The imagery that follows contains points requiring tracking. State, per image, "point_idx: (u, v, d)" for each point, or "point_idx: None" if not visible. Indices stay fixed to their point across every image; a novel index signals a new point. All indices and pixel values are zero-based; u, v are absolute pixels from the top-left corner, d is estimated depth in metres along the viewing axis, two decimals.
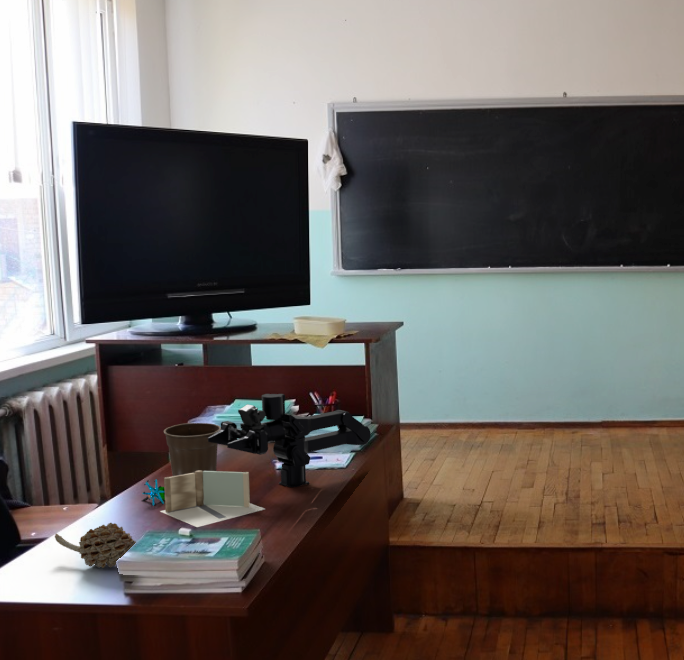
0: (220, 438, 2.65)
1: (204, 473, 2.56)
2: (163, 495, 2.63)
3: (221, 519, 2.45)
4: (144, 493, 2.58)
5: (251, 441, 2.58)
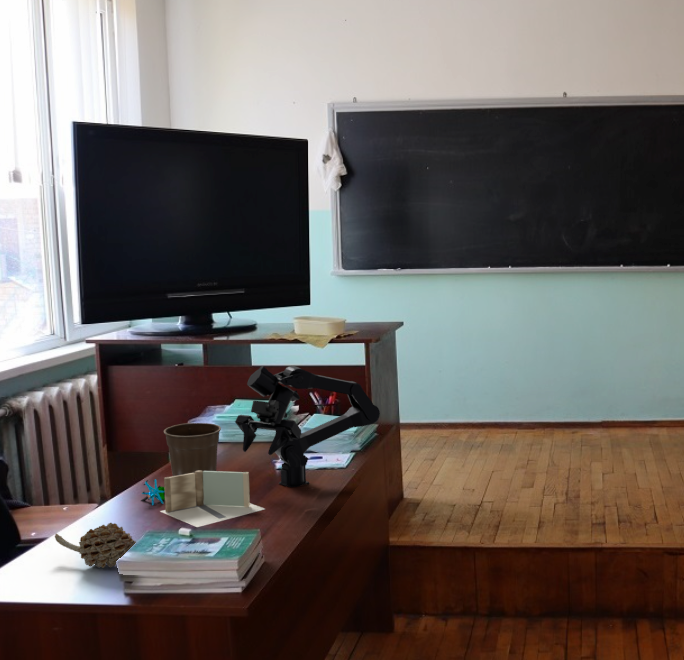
0: (249, 439, 2.67)
1: (204, 473, 2.56)
2: (162, 495, 2.63)
3: (221, 519, 2.45)
4: (143, 493, 2.58)
5: (283, 434, 2.63)
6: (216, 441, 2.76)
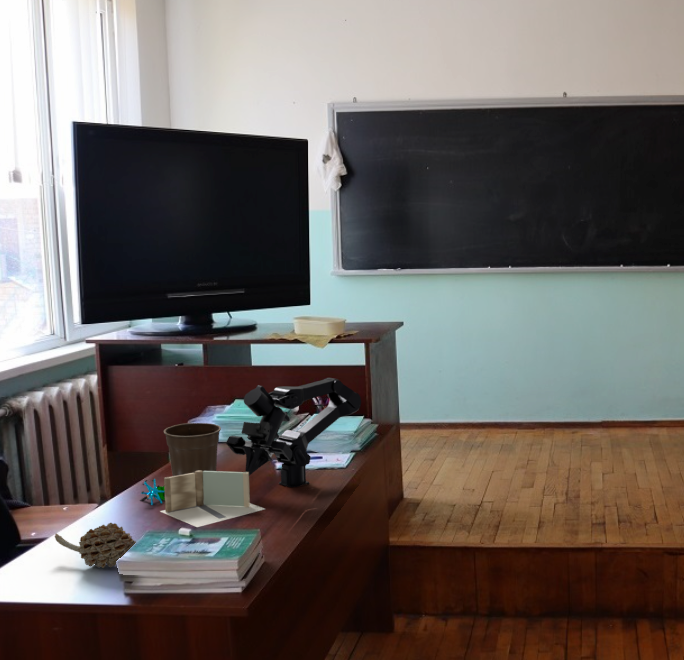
0: None
1: (204, 473, 2.56)
2: (161, 495, 2.63)
3: (221, 519, 2.45)
4: (142, 493, 2.58)
5: (262, 454, 2.62)
6: (216, 441, 2.76)
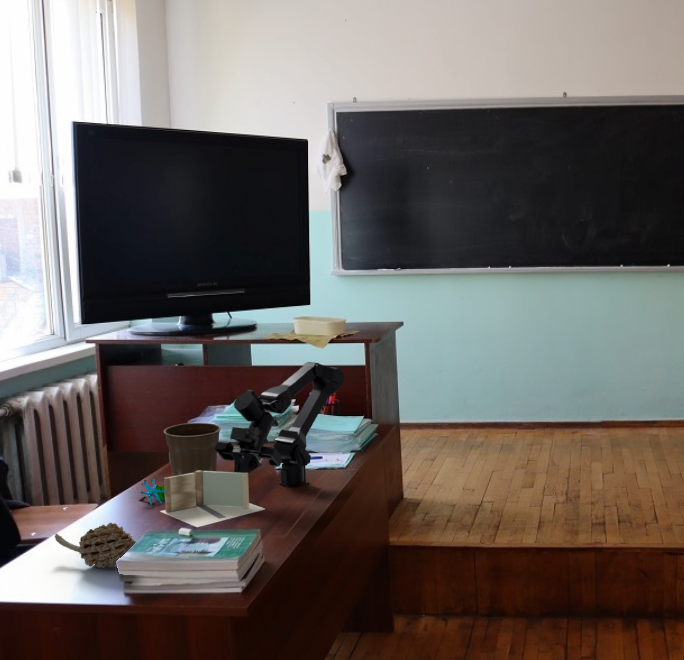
0: (240, 468, 2.57)
1: (204, 473, 2.56)
2: (160, 494, 2.63)
3: (221, 519, 2.45)
4: (142, 493, 2.58)
5: (251, 460, 2.57)
6: (216, 441, 2.76)
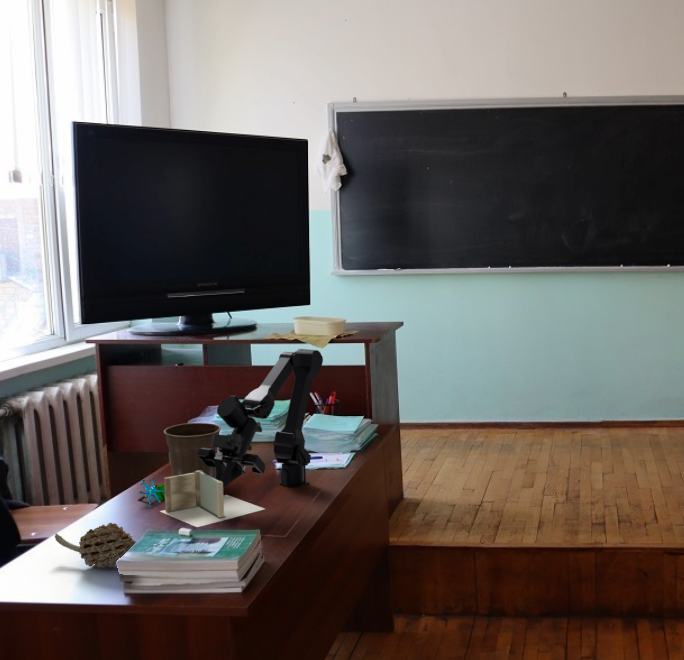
0: (222, 475, 2.51)
1: (200, 474, 2.55)
2: (159, 494, 2.63)
3: (221, 519, 2.45)
4: (141, 492, 2.59)
5: (234, 467, 2.51)
6: None
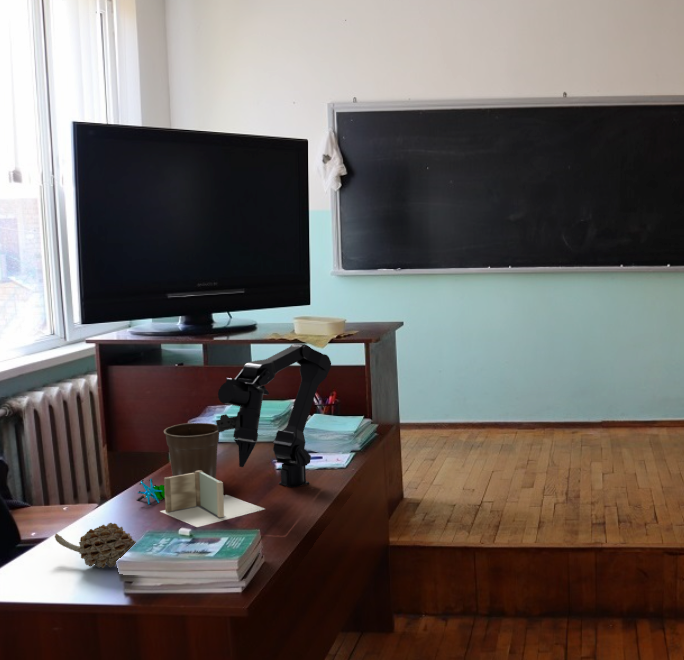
0: None
1: (200, 474, 2.55)
2: (158, 494, 2.64)
3: (221, 519, 2.45)
4: (139, 492, 2.59)
5: (243, 442, 2.57)
6: (216, 441, 2.76)
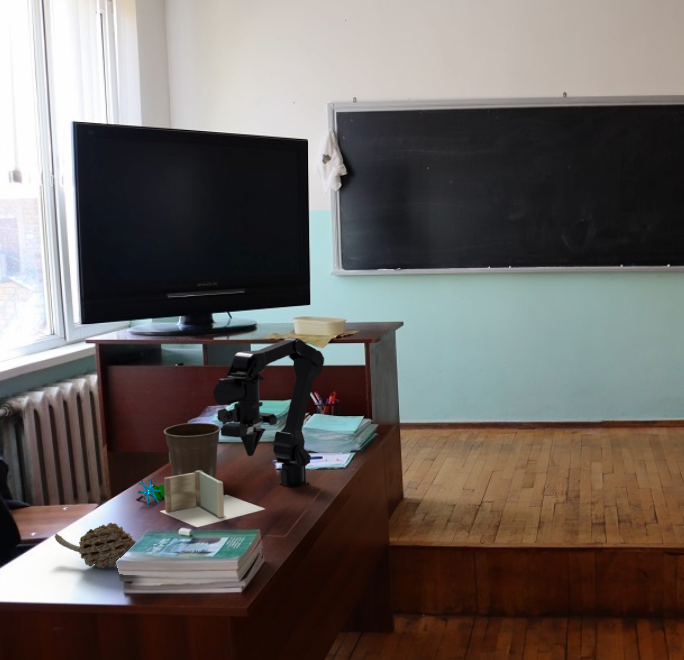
0: None
1: (200, 474, 2.55)
2: (157, 494, 2.64)
3: (221, 519, 2.45)
4: (139, 492, 2.59)
5: None
6: (216, 441, 2.76)
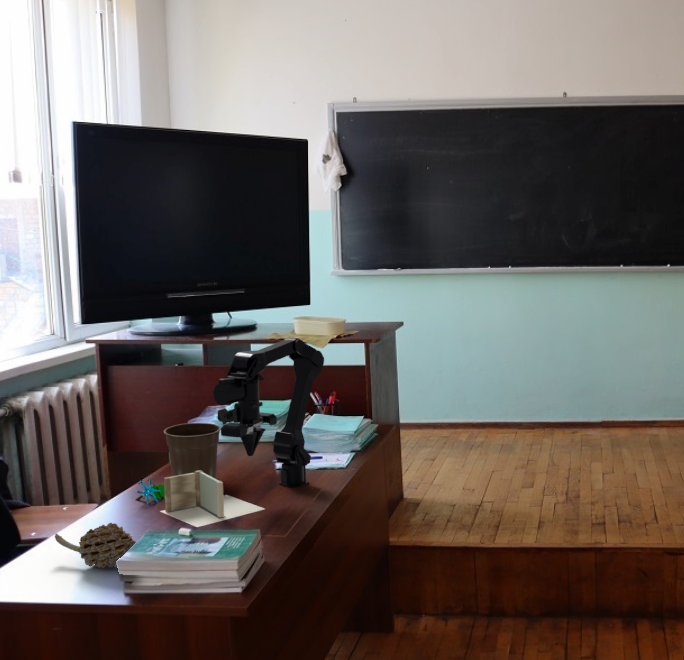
0: None
1: (200, 474, 2.55)
2: (157, 494, 2.64)
3: (221, 519, 2.45)
4: (138, 492, 2.59)
5: None
6: (216, 441, 2.76)
